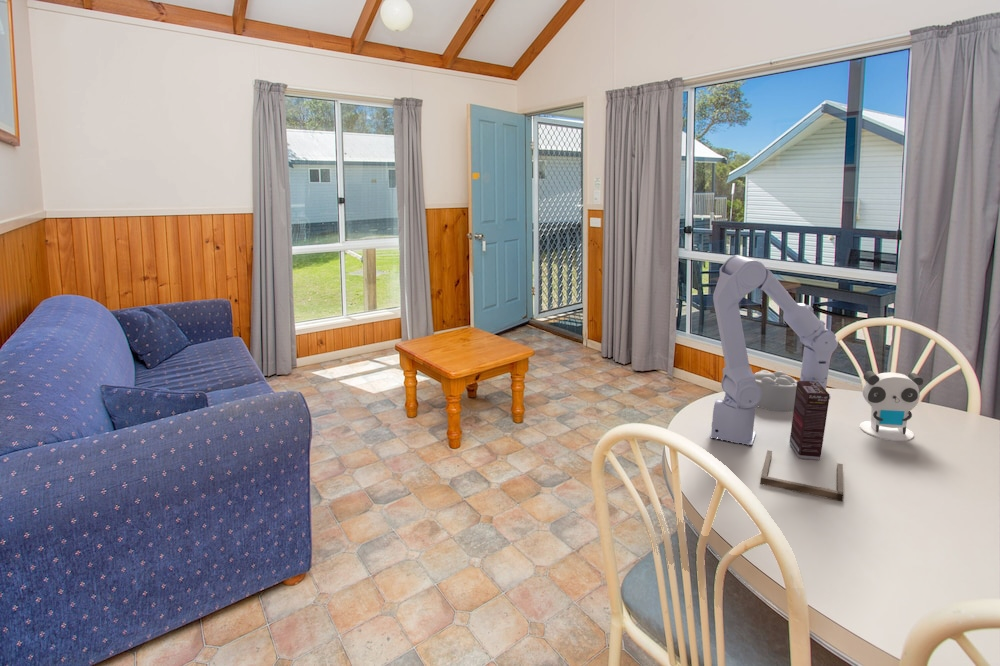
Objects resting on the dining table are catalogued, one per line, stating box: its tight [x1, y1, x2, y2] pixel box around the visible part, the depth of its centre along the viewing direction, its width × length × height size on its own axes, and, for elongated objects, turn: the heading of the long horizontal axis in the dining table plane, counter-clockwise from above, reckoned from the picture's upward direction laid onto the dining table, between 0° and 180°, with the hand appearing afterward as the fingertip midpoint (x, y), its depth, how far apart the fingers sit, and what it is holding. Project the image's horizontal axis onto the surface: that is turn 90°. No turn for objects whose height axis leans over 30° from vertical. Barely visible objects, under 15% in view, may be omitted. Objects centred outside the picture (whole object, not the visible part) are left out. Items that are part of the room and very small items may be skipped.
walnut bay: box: [759, 449, 844, 502], centre depth 126 cm, size 15×14×2 cm
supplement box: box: [789, 380, 831, 461], centre depth 136 cm, size 9×5×16 cm, turn 169°
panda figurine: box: [859, 370, 924, 442], centre depth 146 cm, size 12×11×15 cm
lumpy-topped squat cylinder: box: [753, 369, 798, 413], centre depth 165 cm, size 10×13×9 cm
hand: (807, 428), depth 146 cm, fingers closed
